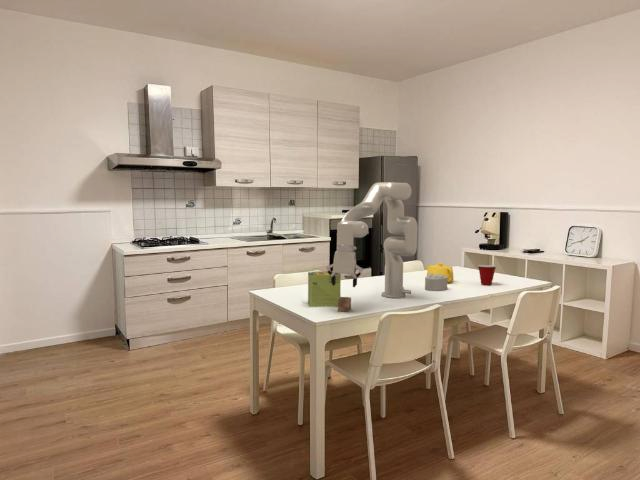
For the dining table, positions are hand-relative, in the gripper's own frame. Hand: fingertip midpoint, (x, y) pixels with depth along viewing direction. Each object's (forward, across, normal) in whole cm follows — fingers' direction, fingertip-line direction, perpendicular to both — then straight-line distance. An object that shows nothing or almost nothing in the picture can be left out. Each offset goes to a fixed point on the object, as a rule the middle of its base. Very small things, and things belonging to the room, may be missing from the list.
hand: (343, 285), depth 202 cm
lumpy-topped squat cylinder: (+10, -37, -65) cm, 76 cm away
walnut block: (+12, 0, -1) cm, 12 cm away
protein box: (+12, +13, -11) cm, 20 cm away
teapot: (+10, -38, -91) cm, 99 cm away
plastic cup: (+9, -66, -90) cm, 112 cm away
